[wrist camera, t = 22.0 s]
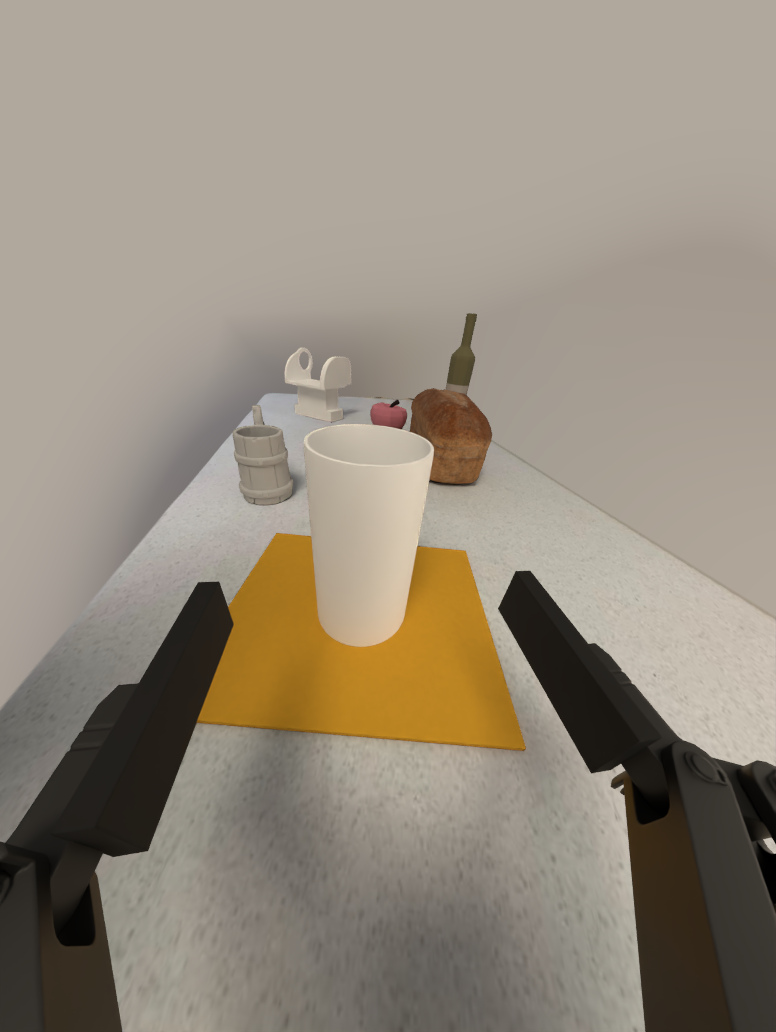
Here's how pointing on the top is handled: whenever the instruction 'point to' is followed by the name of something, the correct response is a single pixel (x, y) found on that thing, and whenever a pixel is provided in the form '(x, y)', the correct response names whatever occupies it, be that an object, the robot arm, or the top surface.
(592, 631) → the top surface
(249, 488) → the mug
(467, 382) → the bottle
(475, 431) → the bread
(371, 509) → the cup
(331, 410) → the white holder stand
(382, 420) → the apple
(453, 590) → the cloth
